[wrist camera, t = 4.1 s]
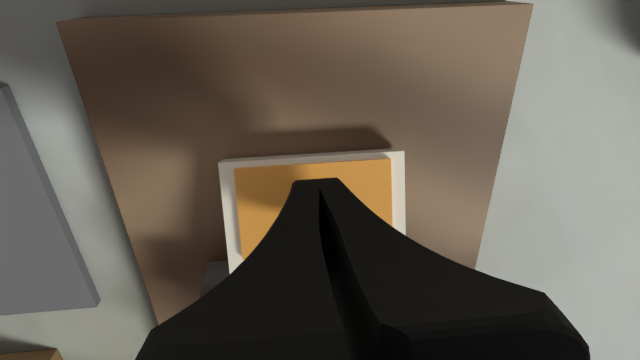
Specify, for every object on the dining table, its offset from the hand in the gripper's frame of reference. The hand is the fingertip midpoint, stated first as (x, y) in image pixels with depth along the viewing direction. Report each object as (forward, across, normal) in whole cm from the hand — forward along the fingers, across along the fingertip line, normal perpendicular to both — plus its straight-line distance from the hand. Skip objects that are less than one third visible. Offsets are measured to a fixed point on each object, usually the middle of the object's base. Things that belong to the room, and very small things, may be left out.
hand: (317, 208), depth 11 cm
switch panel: (+4, 0, +5) cm, 6 cm away
